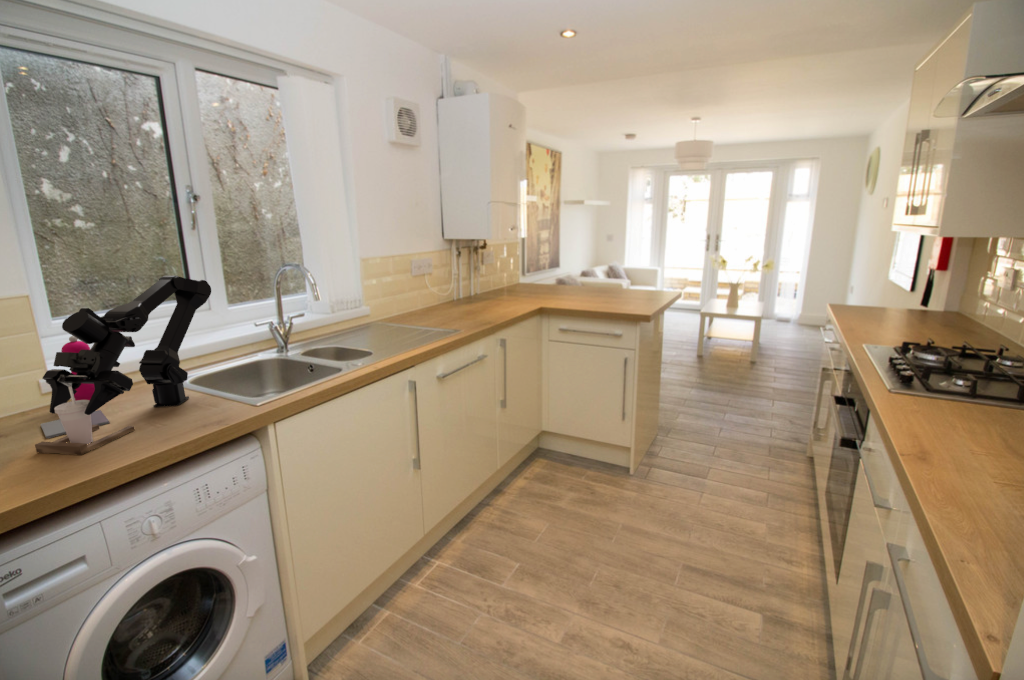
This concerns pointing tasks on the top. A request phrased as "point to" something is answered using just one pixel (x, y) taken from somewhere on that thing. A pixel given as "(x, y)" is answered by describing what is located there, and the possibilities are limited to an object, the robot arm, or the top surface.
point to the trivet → (57, 428)
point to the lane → (78, 448)
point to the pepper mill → (85, 389)
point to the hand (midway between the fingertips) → (69, 413)
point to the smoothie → (75, 420)
